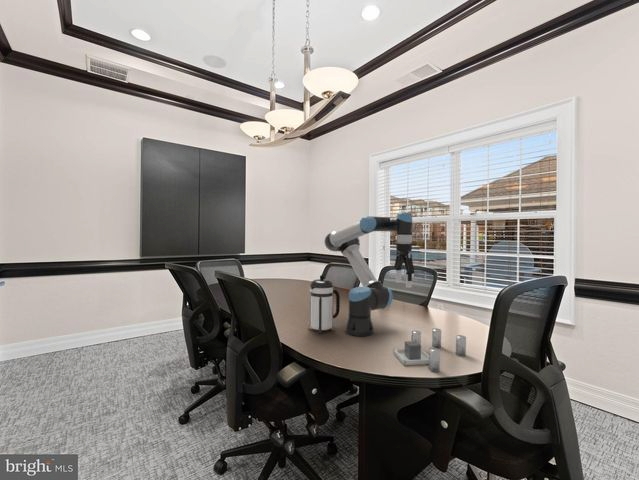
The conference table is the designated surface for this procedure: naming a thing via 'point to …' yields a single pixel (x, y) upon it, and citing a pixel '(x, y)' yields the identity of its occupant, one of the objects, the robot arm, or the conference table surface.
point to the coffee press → (322, 304)
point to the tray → (405, 361)
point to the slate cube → (412, 350)
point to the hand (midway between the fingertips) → (403, 285)
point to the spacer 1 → (416, 336)
